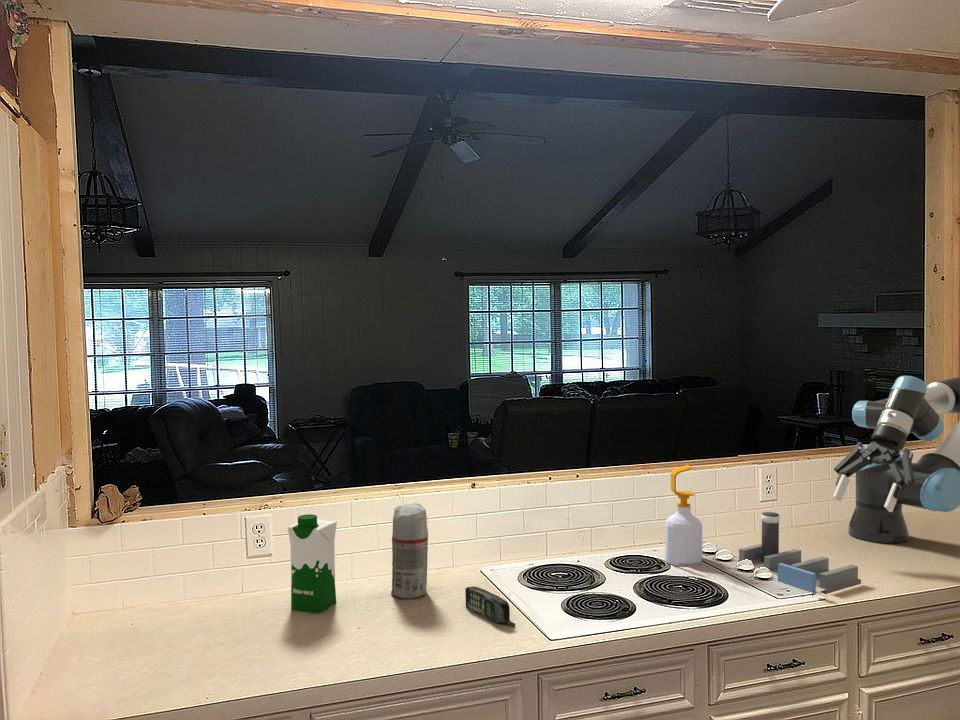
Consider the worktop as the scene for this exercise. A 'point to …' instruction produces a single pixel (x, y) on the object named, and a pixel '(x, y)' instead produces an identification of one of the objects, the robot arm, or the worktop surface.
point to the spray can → (409, 551)
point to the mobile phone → (488, 605)
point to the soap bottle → (682, 529)
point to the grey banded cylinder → (770, 534)
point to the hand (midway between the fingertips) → (861, 504)
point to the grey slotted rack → (805, 567)
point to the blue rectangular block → (797, 577)
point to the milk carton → (312, 564)
